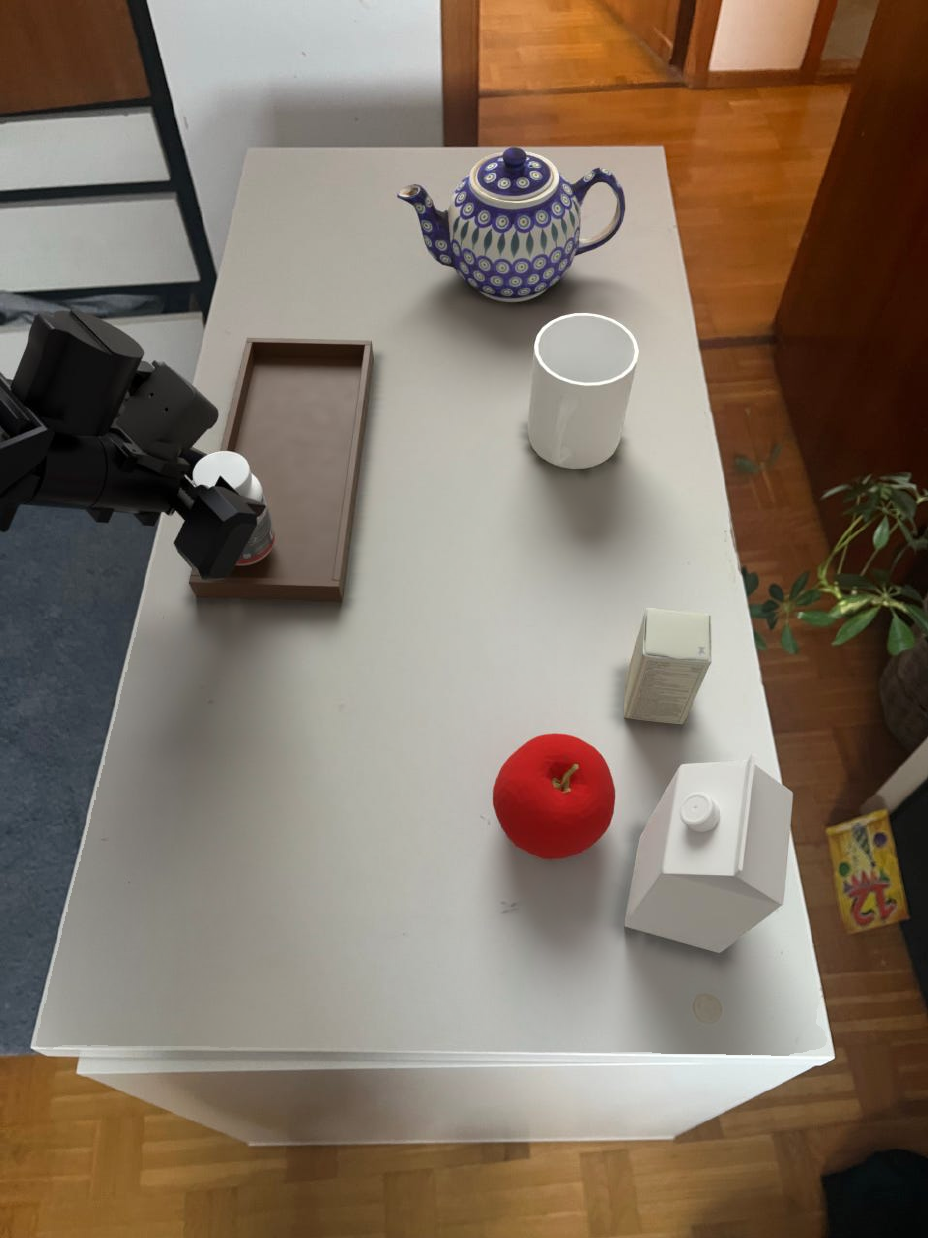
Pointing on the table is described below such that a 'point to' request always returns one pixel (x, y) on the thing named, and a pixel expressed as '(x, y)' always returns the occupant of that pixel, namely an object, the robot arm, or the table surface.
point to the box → (667, 665)
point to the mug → (580, 389)
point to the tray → (299, 462)
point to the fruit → (554, 796)
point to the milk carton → (712, 855)
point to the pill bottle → (247, 486)
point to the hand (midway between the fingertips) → (242, 489)
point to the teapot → (512, 224)
